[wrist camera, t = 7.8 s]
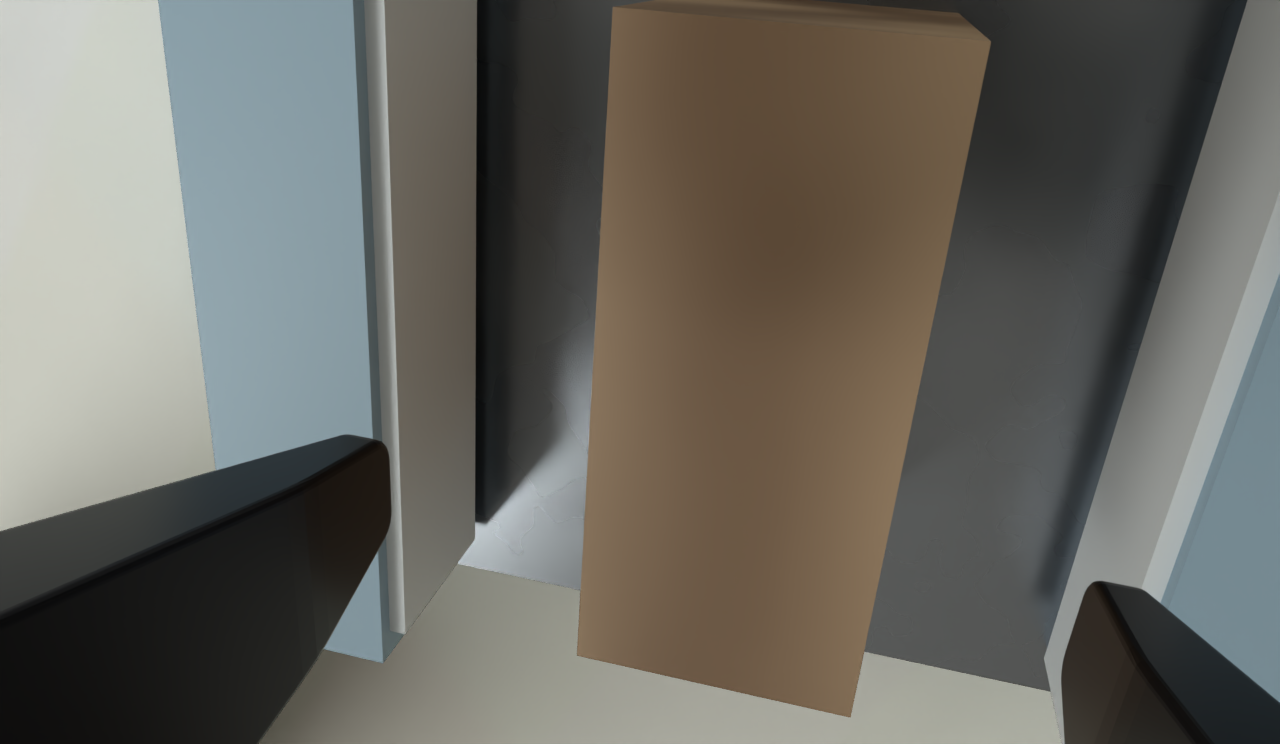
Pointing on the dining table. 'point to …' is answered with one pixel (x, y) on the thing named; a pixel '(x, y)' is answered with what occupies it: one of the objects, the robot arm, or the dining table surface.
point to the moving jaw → (339, 255)
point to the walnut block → (763, 328)
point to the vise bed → (963, 321)
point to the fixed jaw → (1206, 398)
